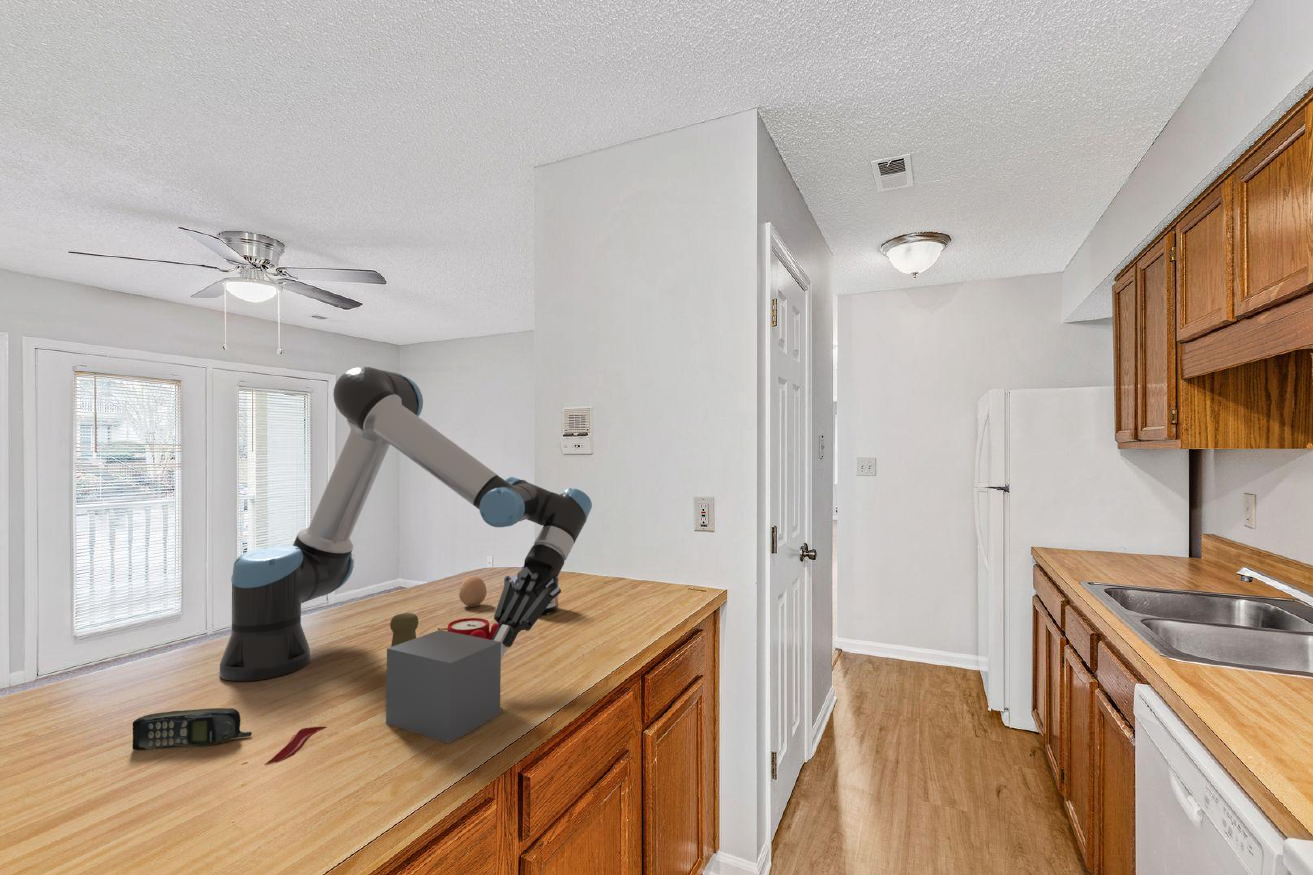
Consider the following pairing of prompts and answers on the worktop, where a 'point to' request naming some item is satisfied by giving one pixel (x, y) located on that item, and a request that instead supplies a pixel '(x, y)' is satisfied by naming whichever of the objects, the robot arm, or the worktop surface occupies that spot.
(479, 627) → the alarm clock
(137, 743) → the mobile phone
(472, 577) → the egg
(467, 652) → the gray box
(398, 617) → the cork
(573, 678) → the worktop surface
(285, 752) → the cayenne pepper
